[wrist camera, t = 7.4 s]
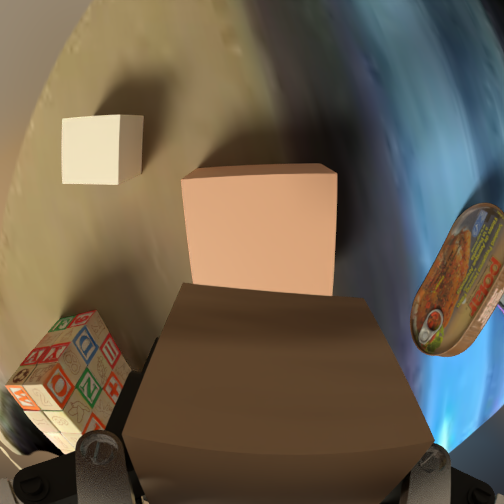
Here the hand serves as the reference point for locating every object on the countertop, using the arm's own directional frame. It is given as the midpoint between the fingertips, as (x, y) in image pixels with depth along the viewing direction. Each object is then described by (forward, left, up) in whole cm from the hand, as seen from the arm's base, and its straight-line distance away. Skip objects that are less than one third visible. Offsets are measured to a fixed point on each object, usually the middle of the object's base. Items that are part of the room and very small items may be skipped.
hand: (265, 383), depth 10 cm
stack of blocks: (+22, -15, -18) cm, 32 cm away
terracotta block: (0, 0, -18) cm, 18 cm away
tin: (+2, +19, -18) cm, 26 cm away
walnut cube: (0, 0, -1) cm, 1 cm away
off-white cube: (-6, -13, -18) cm, 23 cm away
